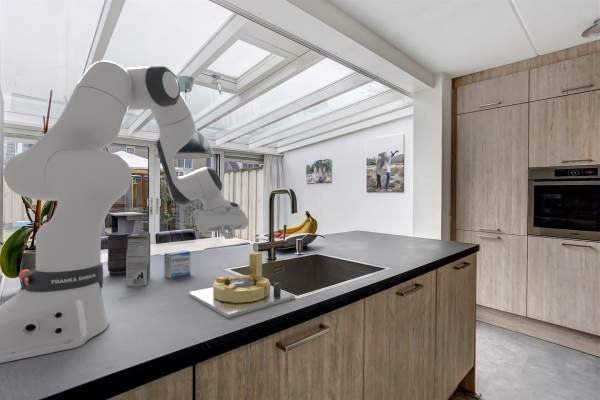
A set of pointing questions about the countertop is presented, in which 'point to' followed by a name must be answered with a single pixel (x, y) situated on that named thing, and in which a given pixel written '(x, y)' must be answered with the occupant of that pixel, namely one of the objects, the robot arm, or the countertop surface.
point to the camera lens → (117, 254)
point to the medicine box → (176, 264)
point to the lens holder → (247, 294)
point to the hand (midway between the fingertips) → (230, 237)
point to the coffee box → (138, 259)
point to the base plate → (241, 307)
